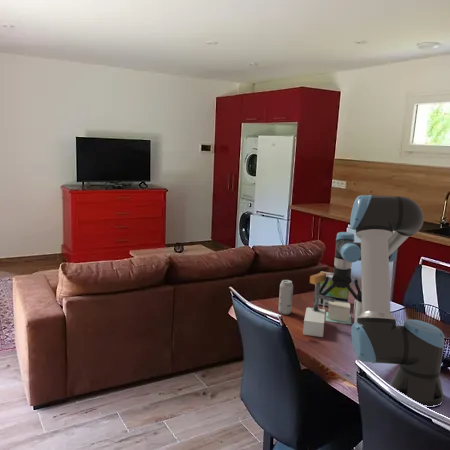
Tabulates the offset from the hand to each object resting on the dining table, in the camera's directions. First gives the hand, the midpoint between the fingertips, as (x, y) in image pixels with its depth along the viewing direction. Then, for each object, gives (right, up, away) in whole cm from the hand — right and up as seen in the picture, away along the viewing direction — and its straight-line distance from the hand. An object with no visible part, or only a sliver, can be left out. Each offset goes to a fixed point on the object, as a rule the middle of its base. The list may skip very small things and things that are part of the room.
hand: (338, 312), depth 202 cm
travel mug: (+4, -7, -22) cm, 23 cm away
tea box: (+2, 0, +19) cm, 19 cm away
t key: (-9, +2, -10) cm, 14 cm away
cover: (0, -2, 0) cm, 2 cm away
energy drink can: (-24, -1, +5) cm, 24 cm away
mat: (0, -3, +1) cm, 3 cm away
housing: (-13, -4, -11) cm, 18 cm away
